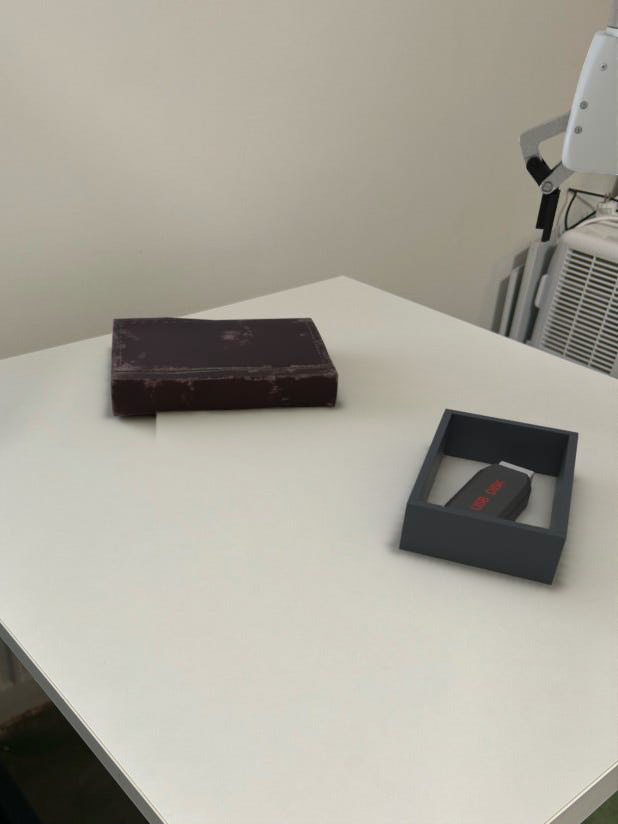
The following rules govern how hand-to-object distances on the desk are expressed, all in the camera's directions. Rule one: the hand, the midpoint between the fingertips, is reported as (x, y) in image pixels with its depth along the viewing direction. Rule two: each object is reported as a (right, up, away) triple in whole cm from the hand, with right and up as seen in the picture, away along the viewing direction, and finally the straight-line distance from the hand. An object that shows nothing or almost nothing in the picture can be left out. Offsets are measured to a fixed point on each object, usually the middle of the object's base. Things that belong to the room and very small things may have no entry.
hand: (603, 243), depth 72 cm
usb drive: (-9, -24, +4) cm, 26 cm away
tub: (-9, -24, +4) cm, 26 cm away
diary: (-34, -7, +27) cm, 44 cm away
